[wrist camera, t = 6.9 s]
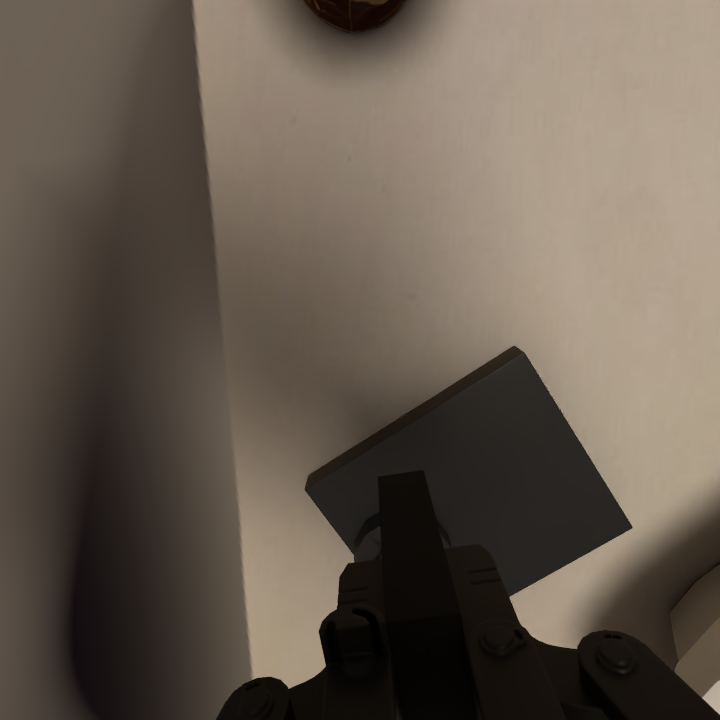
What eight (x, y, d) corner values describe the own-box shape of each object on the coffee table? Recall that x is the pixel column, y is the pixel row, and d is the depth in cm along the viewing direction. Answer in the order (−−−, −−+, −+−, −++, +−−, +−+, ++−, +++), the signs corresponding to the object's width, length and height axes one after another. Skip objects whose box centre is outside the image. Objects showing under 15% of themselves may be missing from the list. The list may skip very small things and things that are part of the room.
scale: (417, 625, 35) (422, 667, 31) (305, 477, 32) (298, 504, 29) (618, 512, 33) (647, 543, 29) (514, 345, 30) (533, 357, 27)
